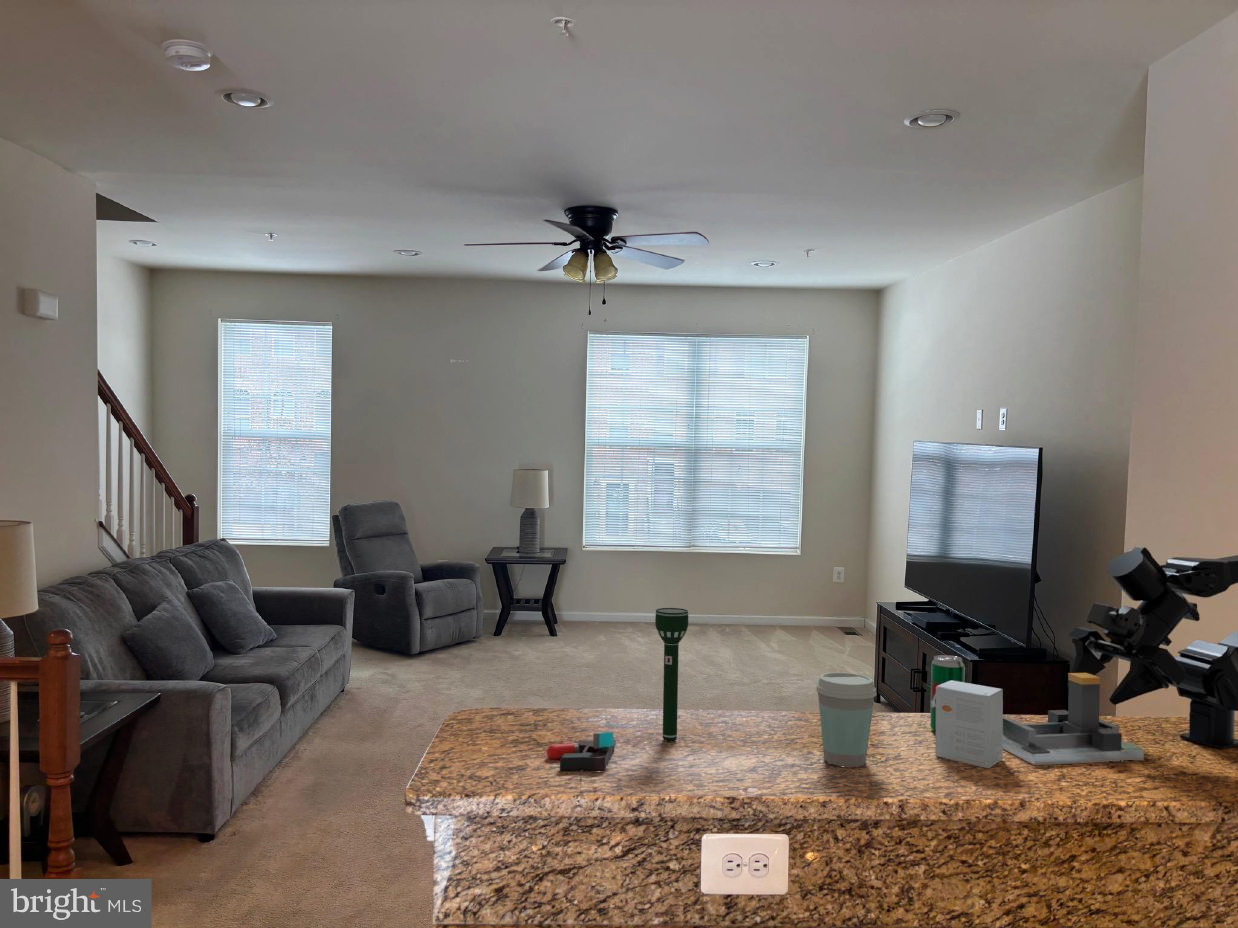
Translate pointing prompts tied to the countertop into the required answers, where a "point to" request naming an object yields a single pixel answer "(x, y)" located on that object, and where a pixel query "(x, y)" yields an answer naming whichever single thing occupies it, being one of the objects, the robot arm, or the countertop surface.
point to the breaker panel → (1066, 742)
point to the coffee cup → (845, 717)
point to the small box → (969, 723)
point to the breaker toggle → (1082, 703)
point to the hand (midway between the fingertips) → (1089, 694)
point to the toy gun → (584, 753)
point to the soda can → (944, 678)
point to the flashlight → (671, 663)
